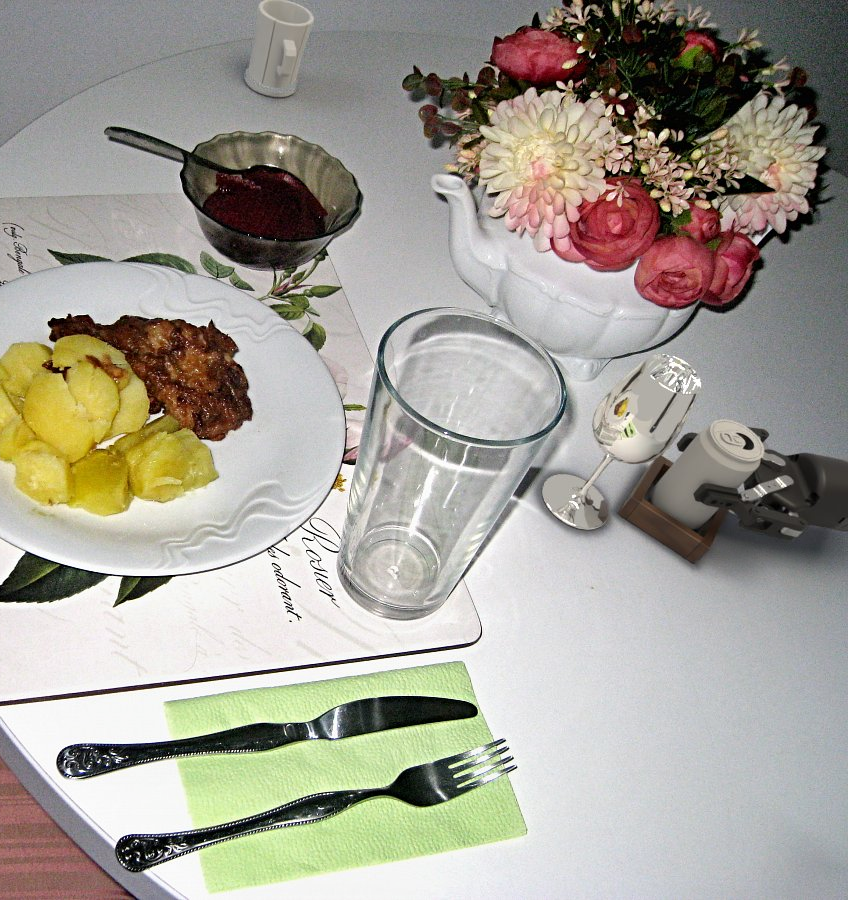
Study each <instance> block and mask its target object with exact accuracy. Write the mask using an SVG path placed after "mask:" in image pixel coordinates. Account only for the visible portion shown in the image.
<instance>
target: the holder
mask: <svg viewBox="0 0 848 900" xmlns="http://www.w3.org/2000/svg"><path fill="white" fill-rule="evenodd" d="M673 464H674V462H673V461H672V460H669V459H668V458H666V457H665V456H663V454H662V455H661V456H659V457H658V458H656V459H654V460H652V461H651V463H650V464H649V465H648V467H646V469H645V470H644V472H643V473H642V475H641V477H640V478H639V480H638V481H637V483H636V484H635V486H634V487H633V489H632V491H631V492H630V493H629V495H628V497H627V498H626V500H625V502H624V503H623V504H622V506H621V508H620V509H619V511H618V512H617V514H618V515H619V516H620V517H622V518H623V519H624V520H626V521H628V522H630V523H631V524H633V525H634V526H636V527H637V528H639V529H640V530H641V531H643V532H644V533H646V534H648V535H649V536H651V537H653V538H654V539H656V540H657V541H658V542H660V543H662V544H663V545H665V546H666V547H668V548H669V549H670V550H672V551H673V552H675V553H677V554H678V555H680V556H681V557H683V558H684V559H685V560H686V561H688V562H690V563H692V564H694V565H695V564H696V563H697V562H698V561H699V560H700V559H701V558H702V557H703V556H704V555H705V554H706V553H707V552H708V551H709V550H710V549H711V546H712V545H713V544H714V541H715V539H716V537H717V535H718V533H719V531H720V529H721V528H722V525H723V524H724V521H725V519H726V517H727V515H728V513H729V511H728V509H722V508H719V509H718V510H717V511H716V512H715V513H714V514H713V515H712V516H711V517H710V519H709V520H708V521H707V522H706V523H705V524H704V525H703V526H701V527H700V530H699V532H698V533H697V532H696V531H695V530H694V529H690V528H688V527H687V526H685V525H683V524H682V523H680V522H679V521H677V520H676V519H674V518H673V517H671V516H670V515H668V514H667V513H665V512H663V511H662V510H660V509H659V508H657V507H656V506H654V505H653V504H652V502H651V501H648V500H647V499H645V498H644V497H645V496H646V494H647V492H648V490H649V489H650V487H651V485H652V484H653V483H655V485H656V484H657V483H658V482H659V480H660V479H661V478H662V477H663V476H664V474H665V473H666V472H667V471H668V470H669V468H670V467H671V466H672V465H673Z"/></svg>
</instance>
